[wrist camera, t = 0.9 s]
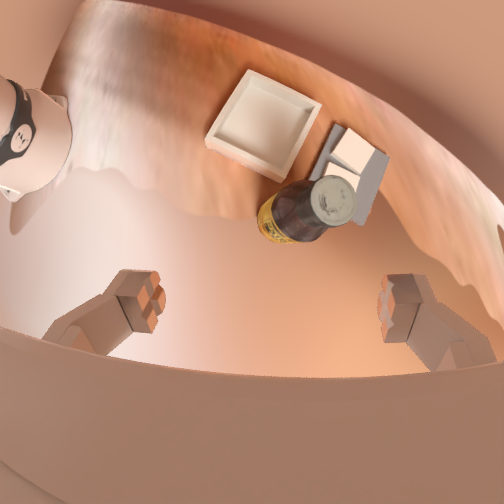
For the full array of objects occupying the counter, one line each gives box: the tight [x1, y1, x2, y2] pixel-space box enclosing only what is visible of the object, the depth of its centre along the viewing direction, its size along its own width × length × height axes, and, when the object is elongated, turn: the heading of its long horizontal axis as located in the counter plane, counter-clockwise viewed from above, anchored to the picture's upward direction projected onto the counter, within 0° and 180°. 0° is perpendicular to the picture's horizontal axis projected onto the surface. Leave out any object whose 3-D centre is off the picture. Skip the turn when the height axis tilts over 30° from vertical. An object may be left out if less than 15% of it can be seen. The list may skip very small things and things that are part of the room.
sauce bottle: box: [257, 175, 357, 243], centre depth 32 cm, size 6×6×20 cm
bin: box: [205, 69, 322, 184], centre depth 40 cm, size 12×13×4 cm
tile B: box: [330, 128, 375, 175], centre depth 41 cm, size 5×5×1 cm
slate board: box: [308, 123, 390, 226], centre depth 43 cm, size 10×12×1 cm
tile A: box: [322, 162, 360, 193], centre depth 41 cm, size 5×5×1 cm
